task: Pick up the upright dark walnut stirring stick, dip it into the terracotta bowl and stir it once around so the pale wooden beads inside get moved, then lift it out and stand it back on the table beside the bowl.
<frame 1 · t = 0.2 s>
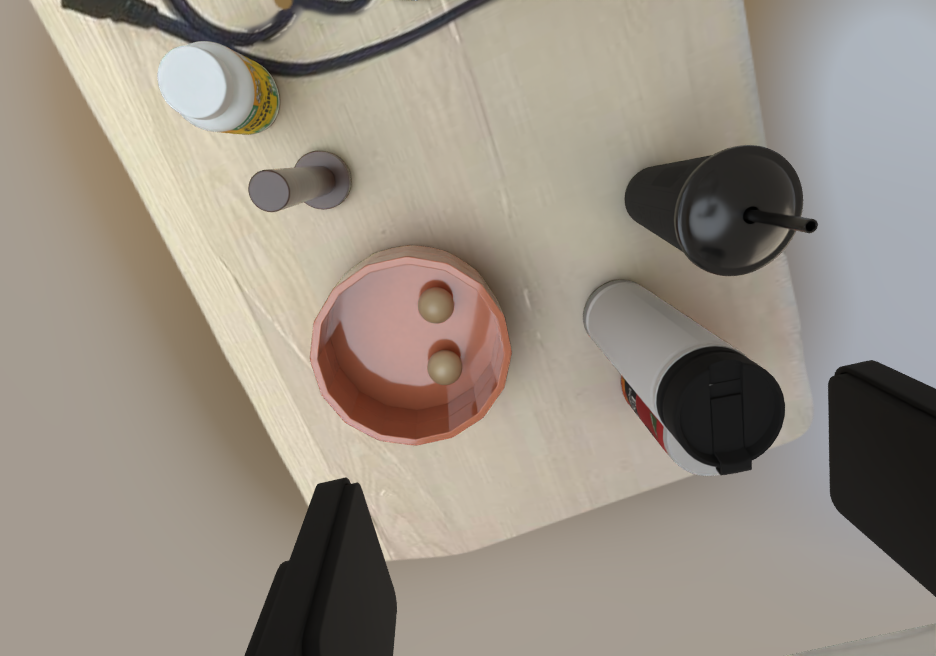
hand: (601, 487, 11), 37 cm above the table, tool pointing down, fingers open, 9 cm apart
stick: (323, 180, 44), on the table
bowl: (414, 332, 48), on the table
supplement bottle: (246, 98, 42), on the table
travel mug: (616, 314, 48), on the table
canned food: (659, 372, 50), on the table
bead a: (444, 367, 47), point 2 cm above the table, touching bowl
bead b: (436, 305, 45), point 2 cm above the table, touching bowl
drinking cup: (652, 196, 46), on the table
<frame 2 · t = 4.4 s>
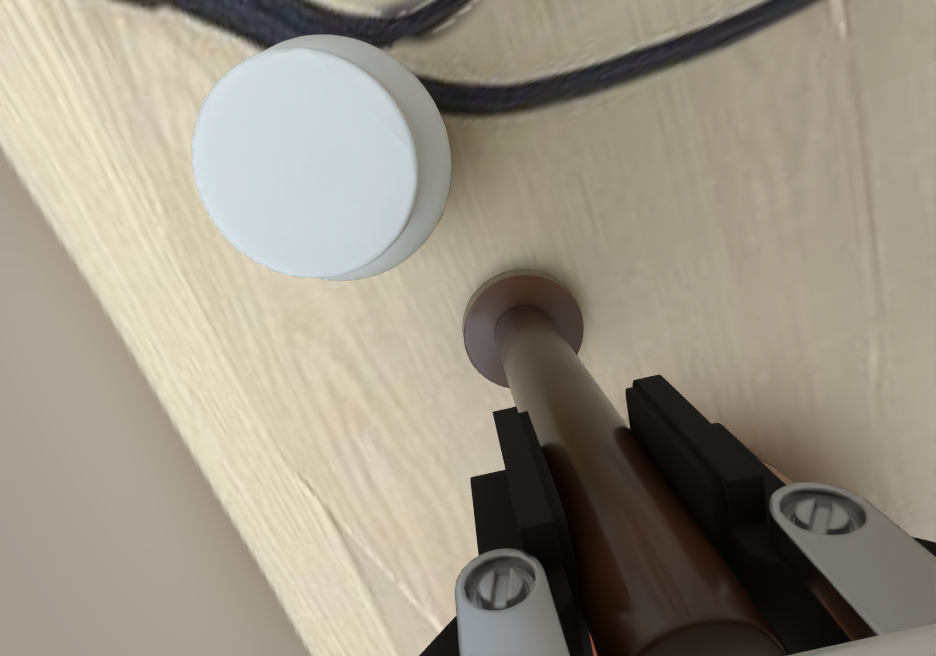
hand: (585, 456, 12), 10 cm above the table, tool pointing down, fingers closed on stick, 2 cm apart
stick: (520, 326, 21), on the table, touching gripper
supplement bottle: (369, 162, 19), on the table
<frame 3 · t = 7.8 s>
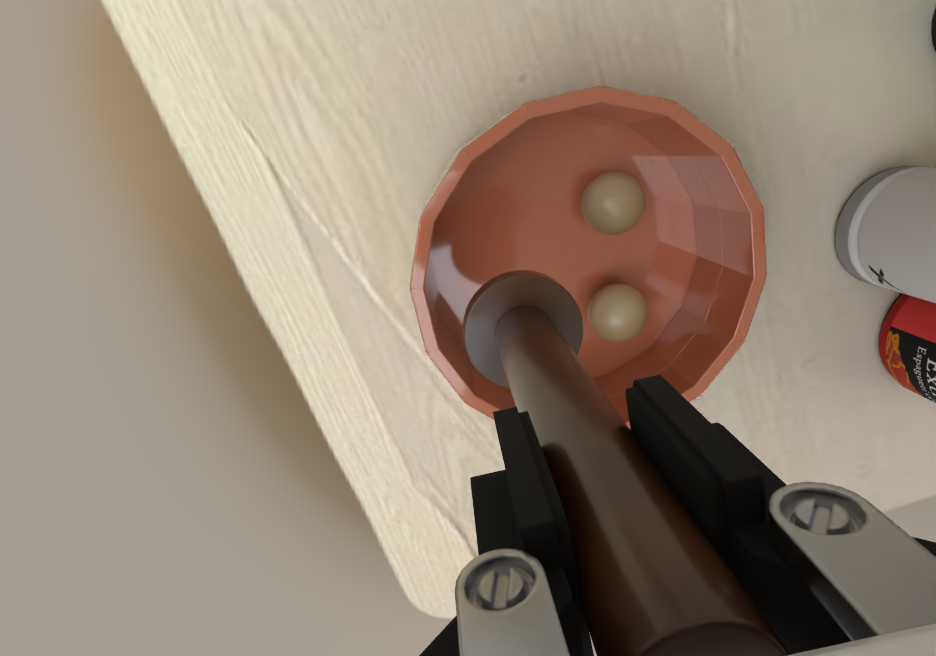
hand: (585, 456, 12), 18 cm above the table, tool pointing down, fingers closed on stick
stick: (520, 326, 21), point 9 cm above the table, touching gripper
bowl: (560, 257, 29), on the table
travel mug: (885, 229, 30), on the table
bead a: (617, 312, 28), point 2 cm above the table, touching bowl
bead b: (612, 203, 26), point 2 cm above the table, touching bowl
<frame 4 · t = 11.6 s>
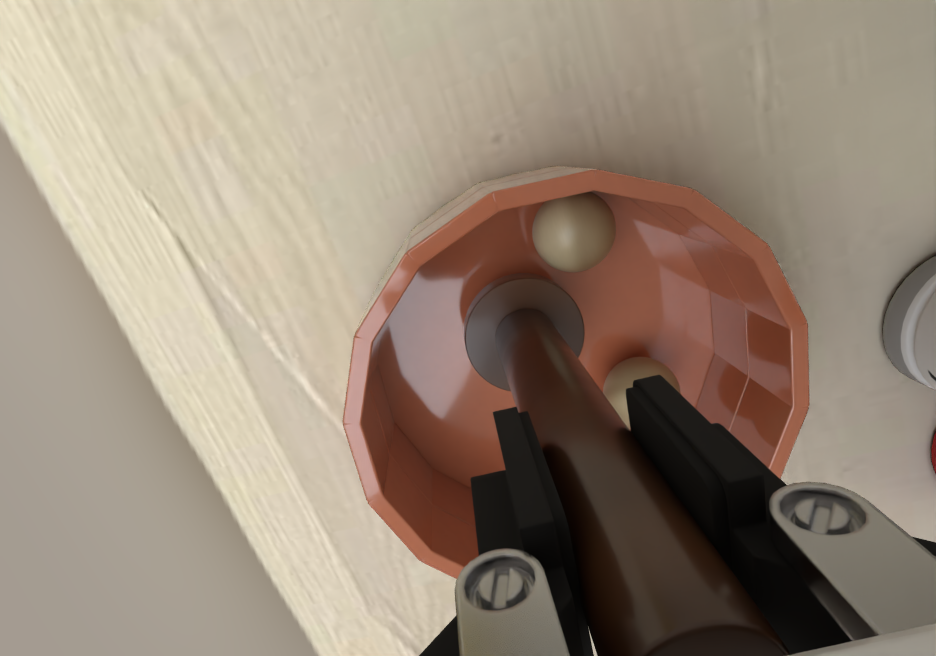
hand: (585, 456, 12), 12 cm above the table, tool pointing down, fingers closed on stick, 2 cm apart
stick: (521, 329, 21), point 2 cm above the table, touching gripper
bowl: (545, 352, 24), on the table
bead a: (640, 393, 22), point 2 cm above the table, tilted 61°, touching bowl
bead b: (573, 231, 20), point 2 cm above the table, tilted 78°, touching bowl
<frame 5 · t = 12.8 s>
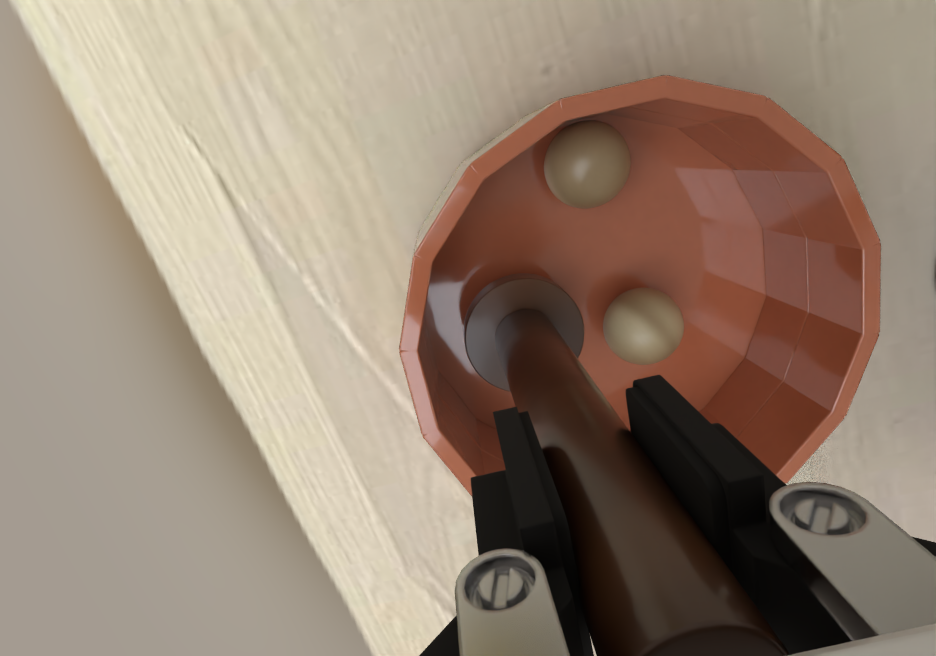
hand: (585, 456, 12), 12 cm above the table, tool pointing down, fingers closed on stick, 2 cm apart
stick: (520, 329, 21), point 2 cm above the table, touching gripper
bowl: (592, 297, 23), on the table
bead a: (642, 326, 21), point 2 cm above the table, tilted 88°, touching bowl
bead b: (586, 165, 19), point 2 cm above the table, tilted 24°, touching bowl
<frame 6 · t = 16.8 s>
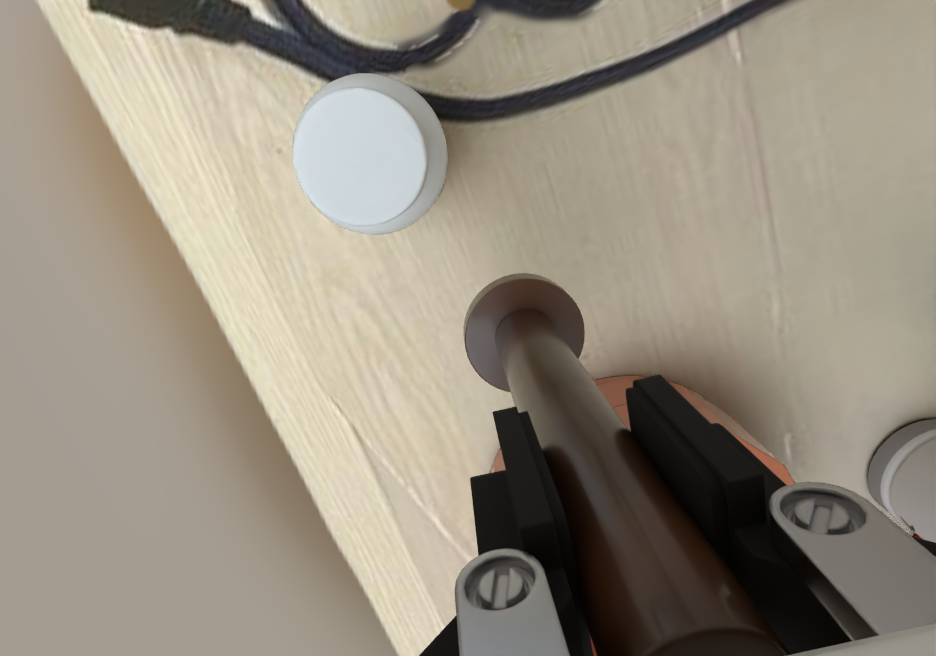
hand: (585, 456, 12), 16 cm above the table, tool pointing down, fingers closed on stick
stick: (521, 330, 21), point 7 cm above the table, touching gripper
bowl: (615, 497, 32), on the table
supplement bottle: (387, 156, 25), on the table
travel mug: (914, 465, 32), on the table
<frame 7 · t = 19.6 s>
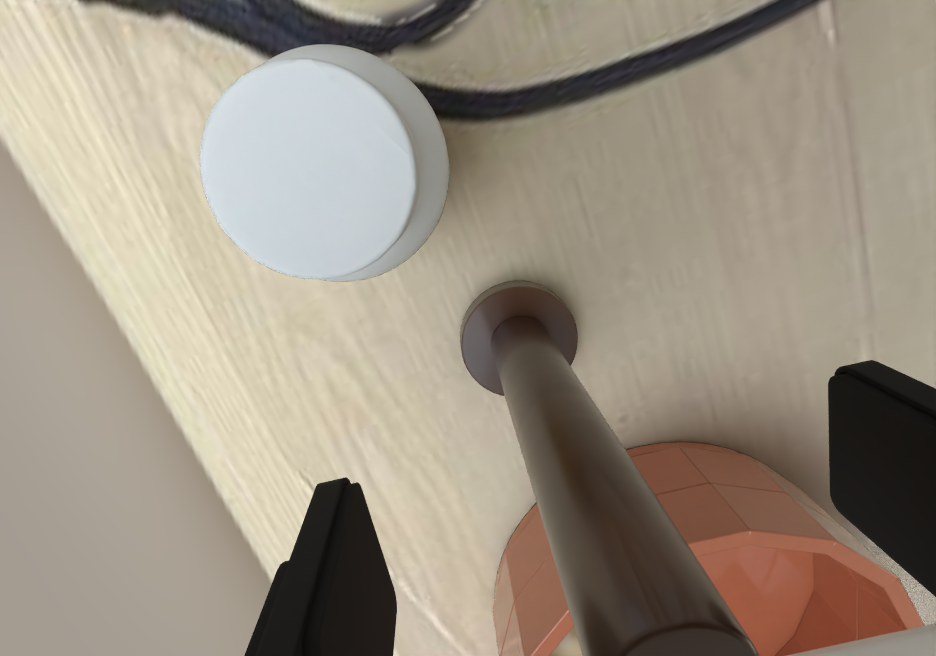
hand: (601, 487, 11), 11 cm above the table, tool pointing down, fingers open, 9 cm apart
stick: (516, 335, 21), on the table
bowl: (657, 587, 25), on the table
supplement bottle: (369, 166, 19), on the table
bead a: (565, 621, 23), point 2 cm above the table, tilted 65°, touching bowl
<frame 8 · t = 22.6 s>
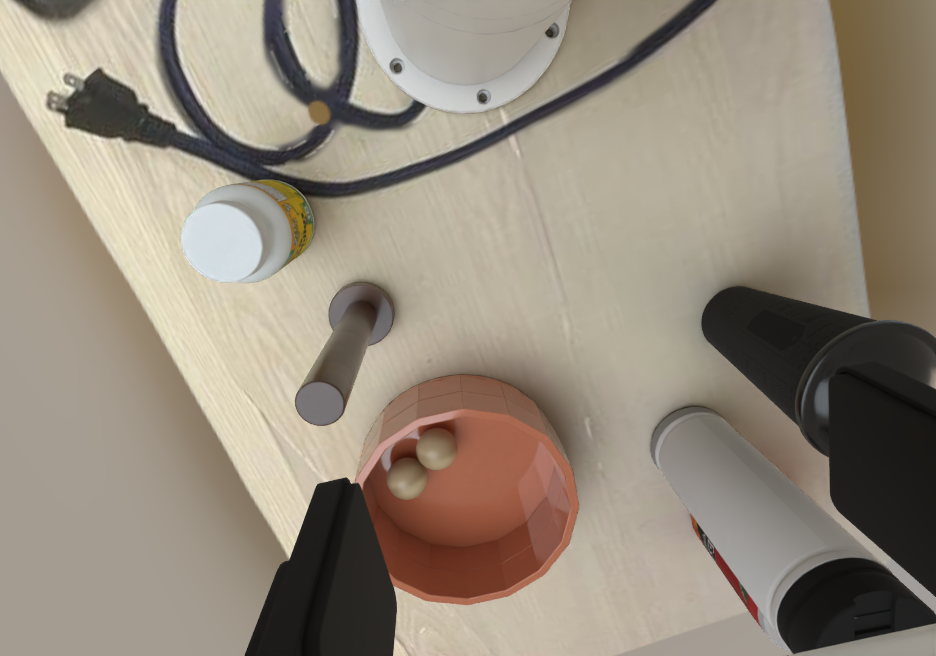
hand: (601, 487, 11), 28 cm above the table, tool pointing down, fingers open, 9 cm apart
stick: (362, 312, 38), on the table
bowl: (461, 465, 43), on the table
supplement bottle: (276, 221, 36), on the table
travel mug: (687, 442, 43), on the table
canned food: (732, 501, 45), on the table
bead a: (407, 478, 40), point 2 cm above the table, tilted 76°, touching bowl
bead b: (436, 448, 40), point 2 cm above the table, tilted 84°, touching bowl
drinking cup: (731, 318, 40), on the table
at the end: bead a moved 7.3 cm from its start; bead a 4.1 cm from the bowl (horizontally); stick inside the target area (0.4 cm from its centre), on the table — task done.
